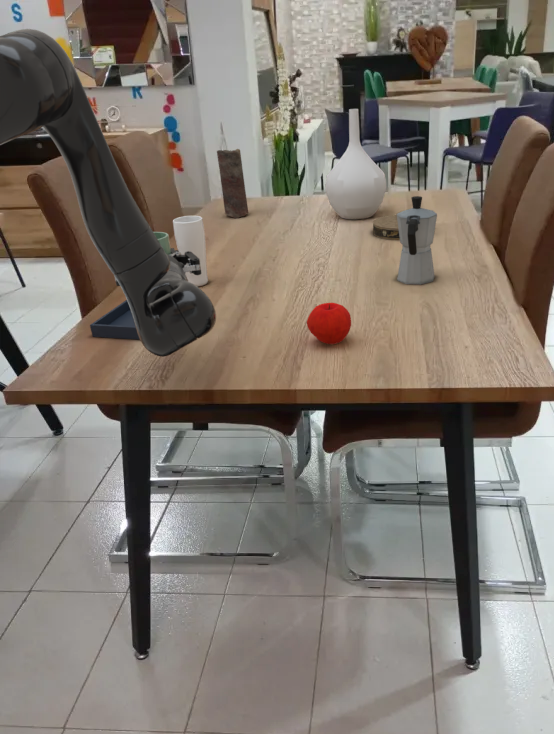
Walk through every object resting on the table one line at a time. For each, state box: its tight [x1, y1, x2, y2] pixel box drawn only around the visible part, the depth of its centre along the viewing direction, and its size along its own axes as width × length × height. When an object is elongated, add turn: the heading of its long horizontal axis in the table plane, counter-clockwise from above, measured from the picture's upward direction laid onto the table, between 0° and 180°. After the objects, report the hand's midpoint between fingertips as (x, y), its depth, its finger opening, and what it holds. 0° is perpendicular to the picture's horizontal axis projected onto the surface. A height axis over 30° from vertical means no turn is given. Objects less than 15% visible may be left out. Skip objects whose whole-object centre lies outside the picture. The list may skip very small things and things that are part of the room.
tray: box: [89, 299, 140, 341], centre depth 141 cm, size 16×13×2 cm
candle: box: [216, 148, 249, 219], centre depth 215 cm, size 8×7×20 cm
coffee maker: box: [395, 195, 438, 286], centre depth 151 cm, size 15×9×18 cm, turn 165°
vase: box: [324, 108, 387, 221], centre depth 204 cm, size 18×18×30 cm
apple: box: [306, 302, 352, 345], centre depth 125 cm, size 8×8×7 cm
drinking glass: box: [172, 215, 209, 287], centre depth 158 cm, size 7×7×15 cm
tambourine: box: [372, 214, 400, 241], centre depth 191 cm, size 16×16×3 cm
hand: (152, 256), depth 119 cm, fingers closed on cup, 6 cm apart
